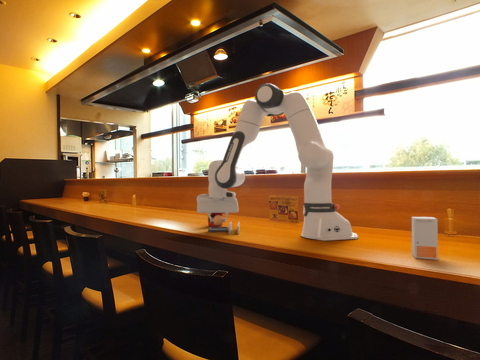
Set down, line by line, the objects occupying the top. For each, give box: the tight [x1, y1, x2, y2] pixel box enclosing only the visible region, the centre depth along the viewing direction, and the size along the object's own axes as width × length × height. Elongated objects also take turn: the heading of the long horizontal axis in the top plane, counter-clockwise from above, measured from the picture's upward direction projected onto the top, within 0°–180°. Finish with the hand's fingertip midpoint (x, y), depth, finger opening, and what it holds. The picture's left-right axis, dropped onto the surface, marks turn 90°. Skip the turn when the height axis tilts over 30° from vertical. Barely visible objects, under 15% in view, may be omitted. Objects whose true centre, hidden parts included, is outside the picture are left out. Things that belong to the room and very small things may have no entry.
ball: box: [213, 215, 224, 226], centre depth 143 cm, size 5×5×5 cm
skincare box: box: [411, 216, 439, 261], centre depth 87 cm, size 6×4×12 cm
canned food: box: [207, 213, 223, 228], centre depth 158 cm, size 8×8×11 cm
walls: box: [228, 221, 241, 235], centre depth 139 cm, size 5×16×4 cm, turn 179°
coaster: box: [207, 226, 229, 233], centre depth 143 cm, size 9×9×1 cm
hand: (218, 222), depth 143 cm, fingers closed on ball, 5 cm apart
